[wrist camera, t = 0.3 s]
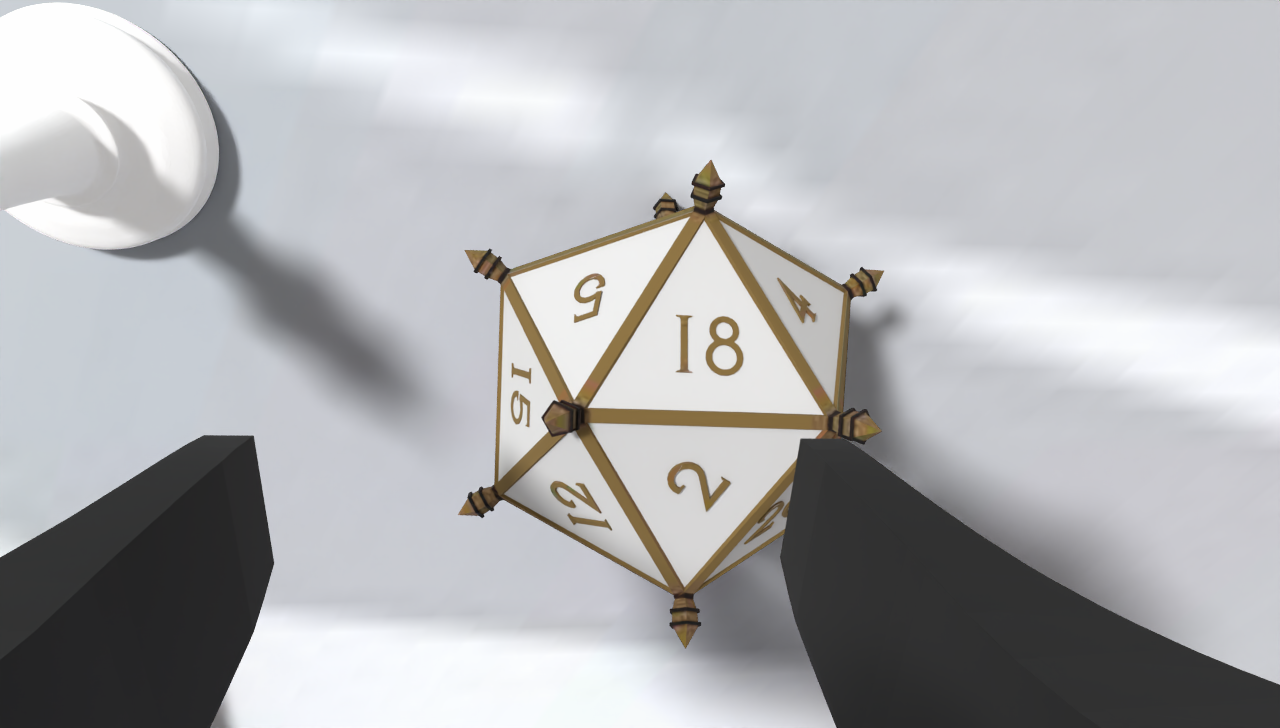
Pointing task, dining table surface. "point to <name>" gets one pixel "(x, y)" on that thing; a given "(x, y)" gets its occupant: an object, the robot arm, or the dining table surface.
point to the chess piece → (99, 129)
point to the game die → (667, 391)
